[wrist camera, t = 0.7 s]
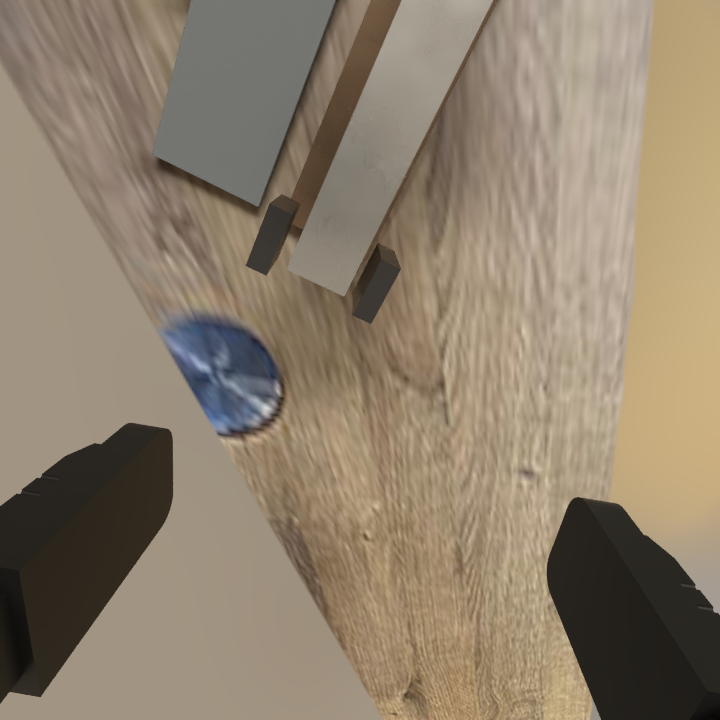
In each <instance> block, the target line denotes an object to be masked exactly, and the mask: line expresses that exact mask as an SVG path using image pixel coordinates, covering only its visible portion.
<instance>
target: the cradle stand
mask: <svg viewBox="0 0 720 720" xmlns="http://www.w3.org/2000/svg"><path fill="white" fill-rule="evenodd" d="M401 1H402V0H371V2H370V5H369V7H368V10H367V12H366V14H365V17H364V19H363V22H362V24H361V27H360V29H359V32H358V34H357V37H356V39H355V42H354V44H353V47H352V49H351V52H350V54H349V57H348V59H347V62H346V64H345V67H344V69H343V71H342V74H341V76H340V79H339V81H338V84H337V86H336V89H335V91H334V94H333V96H332V99H331V101H330V104H329V106H328V109H327V111H326V114H325V116H324V119H323V121H322V124H321V126H320V128H319V131H318V133H317V136H316V138H315V141H314V143H313V146H312V148H311V151H310V153H309V156H308V158H307V161H306V163H305V166H304V168H303V171H302V173H301V176H300V178H299V180H298V183H297V185H296V188H295V190H294V193H293V195H292V198H291V199H290V198H288V197H286V196H285V195H283V194H282V195H280V196H279V197H278V198H276V199H275V200H274V201H272V202H271V203H270V204H269V207H268V209H267V212H266V214H265V217H264V220H263V222H262V225H261V227H260V230H259V233H258V235H257V238H256V241H255V243H254V246H253V248H252V251H251V254H250V256H249V259H248V261H247V264H246V266H247V267H249V268H251V269H254V270H256V271H258V272H260V273H262V274H264V275H267V274H268V272H269V271H270V269H271V268H272V266H273V264H274V263H275V261H276V260H277V258H278V257H279V254H280V252H281V249H282V247H283V245H284V242H285V240H286V237H287V235H288V232H289V230H290V228H291V225H294V226H296V227H298V228H300V229H302V230H303V229H304V227H305V225H306V222H307V220H308V218H309V215H310V213H311V211H312V208H313V206H314V204H315V201H316V199H317V197H318V194H319V192H320V190H321V187H322V185H323V183H324V180H325V178H326V176H327V173H328V171H329V169H330V166H331V164H332V162H333V159H334V157H335V155H336V152H337V150H338V148H339V145H340V143H341V141H342V138H343V136H344V134H345V131H346V129H347V127H348V124H349V122H350V120H351V117H352V115H353V113H354V110H355V108H356V106H357V103H358V101H359V99H360V96H361V94H362V92H363V89H364V87H365V85H366V82H367V80H368V78H369V75H370V73H371V71H372V68H373V66H374V64H375V61H376V59H377V57H378V54H379V52H380V50H381V47H382V45H383V43H384V40H385V38H386V36H387V33H388V31H389V29H390V26H391V24H392V22H393V19H394V17H395V15H396V12H397V10H398V8H399V5H400V3H401ZM496 2H497V0H493V2H492V4H491V6H490V8H489V10H488V12H487V14H486V16H485V18H484V20H483V22H482V24H481V26H480V28H479V30H478V32H477V34H476V36H475V38H474V40H473V41H472V43H471V45H470V47H469V49H468V51H467V53H466V55H465V57H464V59H463V61H462V63H461V65H460V67H459V69H458V71H457V73H456V75H455V77H454V79H453V81H452V83H451V85H450V87H449V89H448V91H447V93H446V95H445V97H444V99H443V101H442V103H441V105H440V107H439V109H438V111H437V113H436V115H435V117H434V119H433V121H432V123H431V125H430V127H429V129H428V131H427V133H426V135H425V137H424V139H423V141H422V143H421V145H420V147H419V149H418V151H417V153H416V155H415V157H414V159H413V161H412V163H411V165H410V167H409V169H408V171H407V173H406V175H405V177H404V179H403V181H402V183H401V185H400V187H399V189H398V191H397V193H396V194H395V196H394V198H393V200H392V202H391V204H390V206H389V208H388V210H387V212H386V214H385V216H384V218H383V220H382V222H381V224H380V226H379V228H378V230H377V232H376V234H375V236H374V238H373V240H372V242H371V244H370V246H369V248H368V250H367V252H366V254H365V256H364V258H363V260H365V261H366V259H367V257H368V255H369V253H370V251H371V249H372V247H373V245H374V243H375V241H376V239H377V237H378V235H379V233H380V231H381V229H382V227H383V225H384V223H385V221H386V219H387V217H388V215H389V213H390V211H391V209H392V207H393V205H394V203H395V201H396V199H397V197H398V195H399V193H400V191H401V189H402V187H403V186H404V184H405V182H406V180H407V178H408V176H409V174H410V172H411V170H412V168H413V166H414V164H415V162H416V160H417V158H418V156H419V154H420V152H421V150H422V148H423V146H424V144H425V142H426V140H427V138H428V136H429V134H430V132H431V130H432V128H433V126H434V124H435V122H436V120H437V118H438V116H439V114H440V112H441V111H442V109H443V107H444V105H445V103H446V101H447V99H448V97H449V95H450V93H451V91H452V89H453V87H454V85H455V83H456V81H457V79H458V77H459V75H460V73H461V71H462V69H463V67H464V65H465V63H466V61H467V59H468V57H469V55H470V53H471V51H472V49H473V47H474V45H475V43H476V41H477V39H478V37H479V36H480V34H481V32H482V30H483V28H484V26H485V24H486V22H487V20H488V18H489V16H490V14H491V12H492V10H493V8H494V6H495V4H496ZM400 270H401V268H400V265H399V262H398V260H397V257H396V254H395V251H393V250H391V249H389V248H387V247H385V246H383V245H381V244H379V243H378V244H377V246H376V248H375V250H374V252H373V254H372V256H371V258H370V259H369V261H368V263H367V265H366V267H365V269H364V271H363V273H362V275H361V277H360V279H359V281H358V283H357V285H356V287H355V289H354V291H353V313H352V315H353V316H355V317H357V318H360V319H362V320H364V321H366V322H368V323H370V324H371V323H372V321H373V319H374V317H375V315H376V314H377V312H378V310H379V308H380V306H381V305H382V303H383V301H384V299H385V297H386V295H387V294H388V292H389V290H390V288H391V286H392V284H393V283H394V281H395V279H396V277H397V275H398V274H399V272H400Z"/></svg>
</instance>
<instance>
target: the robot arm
mask: <svg viewBox="0 0 720 720" xmlns="http://www.w3.org/2000/svg"><path fill="white" fill-rule="evenodd" d="M172 498H173V440H172V434H171V432H170V430H169V429H165V428H159V427H153V426H147V425H140V424H135V423H128V424H126V425H124V426H123V427H122V428H120V429H119V430H118V431H117V432H116V433H114V434H113V435H112V436H111V437H110V438H108V439H107V440H106V441H105V442H103V443H102V444H96V443H95V444H92V445H90V446H87V447H85V448H83V449H81V450H78V451H76V452H74V453H72V454H69V455H67V456H65V457H64V458H62V459H61V460H60V461H58V462H57V463H56V464H54V465H53V466H52V467H51V468H49V469H48V470H47V471H45V472H44V473H43V474H42V476H41V478H36V479H35V480H34V481H33V482H31V483H30V484H29V485H27V486H26V487H25V488H23V489H22V492H21V494H16V495H14V496H13V497H12V498H11V499H9V500H8V501H7V502H5V503H4V504H3V505H1V506H0V703H1V702H2V701H3V699H4V698H5V697H6V696H7V694H8V693H9V692H14V693H20V694H25V695H31V696H37V697H41V696H42V694H43V693H44V691H45V690H46V688H47V687H48V686H49V684H50V683H51V681H52V680H53V679H54V677H55V676H56V674H57V673H58V672H59V670H60V669H61V667H62V666H63V665H64V663H65V662H66V660H67V659H68V658H69V656H70V655H71V653H72V652H73V651H74V649H75V648H76V646H77V645H78V644H79V642H80V641H81V639H82V638H83V637H84V635H85V634H86V632H87V631H88V630H89V628H90V627H91V625H92V624H93V622H94V621H95V620H96V618H97V617H98V616H99V614H100V613H101V611H102V610H103V609H104V607H105V606H106V604H107V603H108V602H109V600H110V599H111V597H112V596H113V595H114V593H115V592H116V590H117V589H118V587H119V586H120V585H121V583H122V582H123V580H124V579H125V578H126V576H127V575H128V573H129V572H130V571H131V569H132V568H133V566H134V565H135V564H136V562H137V561H138V559H139V558H140V556H141V555H142V554H143V552H144V551H145V550H146V548H147V547H148V545H149V544H150V543H151V541H152V540H153V538H154V537H155V536H156V534H157V533H158V531H159V530H160V529H161V527H162V526H163V524H164V522H165V520H166V518H167V516H168V513H169V511H170V507H171V504H172ZM547 582H548V587H549V591H550V594H551V596H552V599H553V601H554V604H555V606H556V609H557V611H558V614H559V616H560V619H561V621H562V624H563V626H564V629H565V631H566V634H567V636H568V639H569V641H570V644H571V646H572V648H573V651H574V653H575V656H576V658H577V661H578V663H579V666H580V668H581V671H582V673H583V676H584V678H585V681H586V683H587V686H588V688H589V691H590V693H591V696H592V698H593V701H594V703H595V705H596V708H597V710H598V713H599V715H600V718H601V720H720V615H719V614H718V613H714V611H713V606H712V605H711V604H710V602H709V601H708V600H707V599H706V598H705V596H704V595H703V594H702V593H701V591H700V590H696V588H695V583H694V582H693V581H692V580H691V578H690V577H689V576H688V575H687V573H686V572H685V571H684V570H683V568H682V567H681V566H680V565H679V563H678V562H677V561H676V560H675V558H673V557H672V556H671V555H670V554H669V553H667V552H666V551H665V550H664V549H662V548H661V547H660V546H659V545H657V544H656V543H655V542H654V541H653V540H651V539H650V538H649V537H648V536H646V535H643V534H642V532H641V531H640V530H639V528H638V527H637V526H636V525H635V523H634V522H633V520H632V519H631V518H630V516H629V515H628V514H627V512H626V511H625V510H624V509H623V507H622V506H620V505H619V504H616V503H610V502H604V501H598V500H592V499H586V498H580V497H577V498H574V499H573V500H572V501H571V502H570V504H569V505H568V508H567V510H566V513H565V516H564V518H563V521H562V523H561V526H560V529H559V531H558V534H557V537H556V539H555V542H554V545H553V547H552V550H551V552H550V555H549V558H548V563H547Z"/></svg>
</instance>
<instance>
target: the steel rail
mask: <svg viewBox="0 0 720 720" xmlns="http://www.w3.org/2000/svg"><path fill="white" fill-rule="evenodd" d="M492 2H493V0H402V1H401V3H400V5H399V8H398V10H397V12H396V15H395V17H394V19H393V22H392V24H391V26H390V29H389V31H388V33H387V36H386V38H385V40H384V43H383V45H382V47H381V50H380V52H379V54H378V57H377V59H376V61H375V64H374V66H373V68H372V71H371V73H370V75H369V78H368V80H367V82H366V85H365V87H364V89H363V92H362V94H361V96H360V99H359V101H358V103H357V106H356V108H355V110H354V113H353V115H352V117H351V120H350V122H349V124H348V127H347V129H346V131H345V134H344V136H343V138H342V141H341V143H340V145H339V148H338V150H337V152H336V155H335V157H334V159H333V162H332V164H331V166H330V169H329V171H328V173H327V176H326V178H325V180H324V183H323V185H322V187H321V190H320V192H319V194H318V197H317V199H316V201H315V204H314V206H313V208H312V211H311V213H310V215H309V218H308V220H307V222H306V225H305V227H304V229H303V232H302V234H301V236H300V239H299V241H298V243H297V246H296V248H295V250H294V253H293V255H292V257H291V260H290V262H289V264H288V267H287V269H286V270H288V271H290V272H292V273H295V274H297V275H299V276H301V277H303V278H305V279H307V280H309V281H312V282H314V283H316V284H318V285H320V286H322V287H324V288H327V289H329V290H331V291H333V292H335V293H337V294H339V295H341V296H345V294H346V292H347V290H348V288H349V286H350V284H351V282H352V280H353V278H354V276H355V274H356V272H357V270H358V268H359V266H360V264H361V262H362V260H363V258H364V256H365V254H366V252H367V250H368V248H369V246H370V244H371V242H372V240H373V238H374V236H375V234H376V232H377V230H378V228H379V226H380V224H381V222H382V220H383V218H384V216H385V214H386V212H387V210H388V208H389V206H390V204H391V202H392V200H393V198H394V196H395V194H396V193H397V191H398V189H399V187H400V185H401V183H402V181H403V179H404V177H405V175H406V173H407V171H408V169H409V167H410V165H411V163H412V161H413V159H414V157H415V155H416V153H417V151H418V149H419V147H420V145H421V143H422V141H423V139H424V137H425V135H426V133H427V131H428V129H429V127H430V125H431V123H432V121H433V119H434V117H435V115H436V113H437V111H438V109H439V107H440V105H441V103H442V101H443V99H444V97H445V95H446V93H447V91H448V89H449V87H450V85H451V83H452V81H453V79H454V77H455V75H456V73H457V71H458V69H459V67H460V65H461V63H462V61H463V59H464V57H465V55H466V53H467V51H468V49H469V47H470V45H471V43H472V41H473V40H474V38H475V36H476V34H477V32H478V30H479V28H480V26H481V24H482V22H483V20H484V18H485V16H486V14H487V12H488V10H489V8H490V6H491V4H492Z"/></svg>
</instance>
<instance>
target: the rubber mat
mask: <svg viewBox="0 0 720 720" xmlns="http://www.w3.org/2000/svg"><path fill="white" fill-rule="evenodd" d="M337 1H338V0H191V3H190V7H189V11H188V15H187V19H186V23H185V27H184V31H183V35H182V39H181V42H180V46H179V50H178V54H177V58H176V62H175V66H174V70H173V74H172V78H171V81H170V85H169V89H168V93H167V97H166V101H165V105H164V109H163V113H162V117H161V120H160V124H159V128H158V132H157V136H156V140H155V144H154V148H153V152H152V155H154V156H156V157H158V158H160V159H162V160H164V161H166V162H168V163H170V164H172V165H174V166H176V167H178V168H180V169H182V170H184V171H186V172H188V173H191V174H193V175H195V176H197V177H199V178H201V179H203V180H205V181H207V182H209V183H211V184H213V185H215V186H217V187H219V188H221V189H223V190H225V191H227V192H229V193H231V194H233V195H235V196H237V197H239V198H241V199H243V200H245V201H247V202H249V203H251V204H253V205H255V206H257V207H259V206H260V205H261V203H262V200H263V198H264V195H265V192H266V190H267V187H268V185H269V182H270V179H271V177H272V174H273V171H274V169H275V166H276V163H277V161H278V158H279V155H280V153H281V150H282V147H283V145H284V142H285V139H286V137H287V134H288V131H289V129H290V126H291V123H292V121H293V118H294V115H295V113H296V110H297V107H298V105H299V102H300V99H301V97H302V94H303V91H304V89H305V86H306V84H307V81H308V78H309V76H310V73H311V70H312V68H313V65H314V62H315V60H316V57H317V54H318V52H319V49H320V46H321V44H322V41H323V38H324V36H325V33H326V30H327V28H328V25H329V22H330V20H331V17H332V14H333V12H334V9H335V6H336V4H337Z"/></svg>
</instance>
